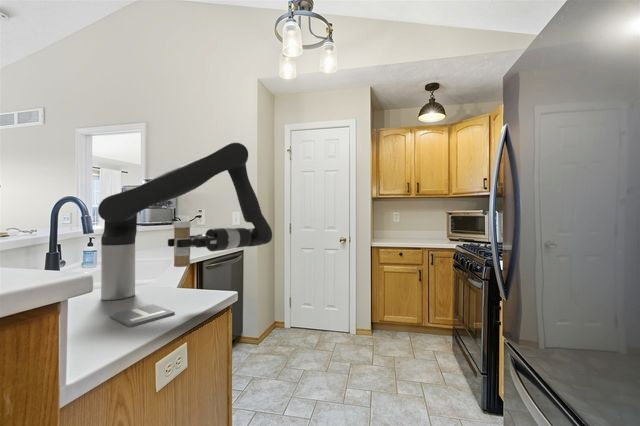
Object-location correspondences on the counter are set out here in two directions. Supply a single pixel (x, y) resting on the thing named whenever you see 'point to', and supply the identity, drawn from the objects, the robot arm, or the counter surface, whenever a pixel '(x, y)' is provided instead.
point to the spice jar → (184, 252)
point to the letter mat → (141, 315)
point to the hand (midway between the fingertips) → (173, 243)
